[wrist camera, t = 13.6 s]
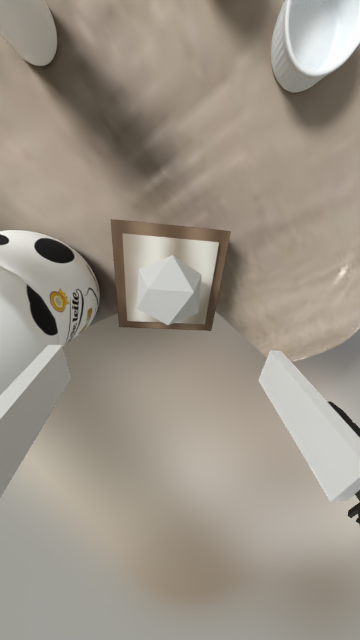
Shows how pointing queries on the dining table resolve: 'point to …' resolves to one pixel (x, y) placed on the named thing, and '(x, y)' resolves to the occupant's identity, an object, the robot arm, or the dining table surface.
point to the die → (169, 290)
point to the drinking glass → (29, 29)
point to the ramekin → (313, 40)
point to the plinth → (159, 243)
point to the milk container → (40, 298)
